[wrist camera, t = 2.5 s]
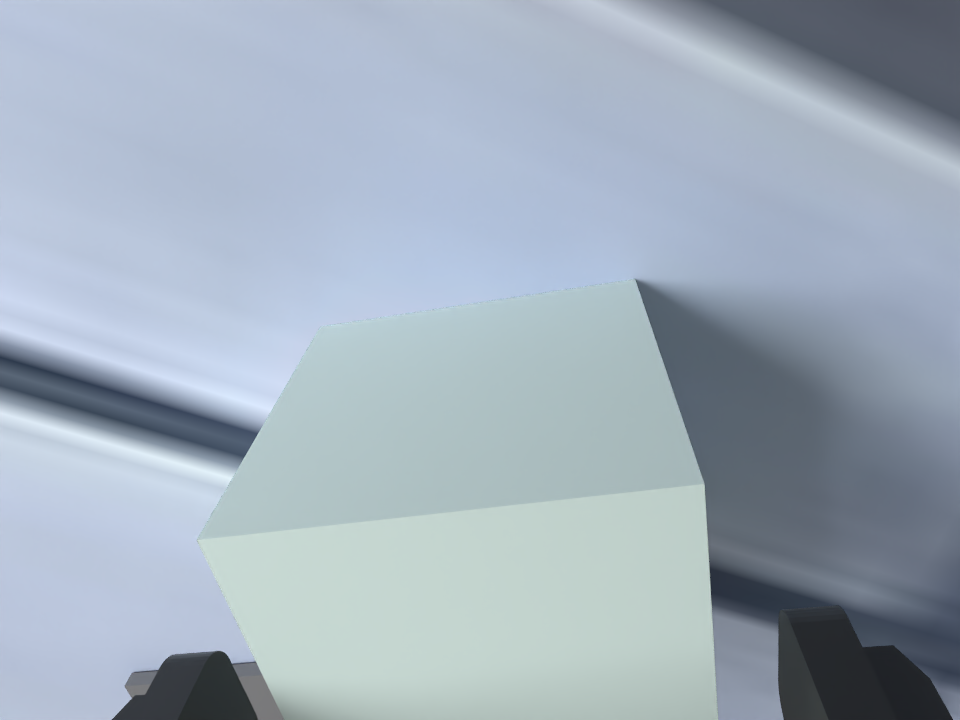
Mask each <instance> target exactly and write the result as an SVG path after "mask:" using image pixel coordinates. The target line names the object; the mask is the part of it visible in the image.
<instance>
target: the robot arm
mask: <svg viewBox="0 0 960 720" xmlns="http://www.w3.org/2000/svg"><path fill="white" fill-rule="evenodd" d="M778 683H779V695H780V702H781V708H782V713H783V717H784V720H953V719H952V717H951V715H950V713H949V712H948V710H947V708H946V706H945V704H944V703H943V701H942V699H941V697H940V696H939V694H938V692H937V690H936V688H935V687H934V685H933V683H932V681H931V680H930V678H929V677H927V676H926V675H925V674H924V673H923V672H922V671H921V670H920V669H919V668H918V667H916V666H915V665H914V664H913V663H912V662H911V661H910V660H909V659H908V658H907V657H905V656H904V655H903V654H902V653H901V652H900V651H899V650H898V649H897V648H896V647H894V646H893V645H891V646H876V647H862V645H861V643H860V641H859V639H858V637H857V635H856V633H855V631H854V629H853V627H852V625H851V623H850V621H849V619H848V617H847V615H846V613H845V612H844V610H843V609H842V608H841V607H840V606H837V605H836V606H823V607H810V608H797V609H784V610H780V612H779V655H778ZM112 720H258V718H257V715H256V713H255V711H254V708H253V706H252V704H251V702H250V700H249V698H248V696H247V694H246V692H245V690H244V688H243V686H242V684H241V682H240V680H239V678H238V676H237V674H236V672H235V669H234V667H233V665H232V663H231V661H230V659H229V658H228V656H227V655H226V654H225V653H224V652H222V651H213V652H200V653H187V654H175V655H172V656H170V657H168V658H167V659H166V660H165V661H164V662H163V664H162V665H161V667H160V668H159V670H158V672H157V674H156V676H155V677H154V679H153V681H152V683H151V685H150V687H149V688H148V690H147V692H146V694H145V695H135V696H134V697H133V698H132V699H131V700H130V701H129V702H128V703H127V704H126V705H125V707H124V708H123V709H122V710H121V711H120V712H119V713H118V714H117V715H116V716H115V717H114V718H113V719H112Z"/></svg>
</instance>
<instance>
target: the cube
mask: <svg viewBox="0 0 960 720" xmlns="http://www.w3.org/2000/svg"><path fill="white" fill-rule="evenodd" d="M197 542H198V544H199V546H200V548H201V550H202V552H203V554H204V556H205V558H206V560H207V562H208V564H209V566H210V569H211V571H212V573H213V575H214V577H215V579H216V581H217V583H218V585H219V587H220V589H221V591H222V593H223V595H224V597H225V599H226V601H227V603H228V605H229V608H230V610H231V612H232V614H233V616H234V618H235V620H236V622H237V624H238V626H239V628H240V630H241V632H242V634H243V636H244V638H245V640H246V642H247V644H248V647H249V649H250V651H251V653H252V655H253V657H254V659H255V661H256V663H257V665H258V667H259V669H260V671H261V673H262V675H263V677H264V679H265V681H266V683H267V686H268V688H269V690H270V692H271V694H272V696H273V698H274V700H275V702H276V704H277V706H278V708H279V710H280V712H281V714H282V716H283V718H284V720H718V710H717V692H716V675H715V657H714V640H713V623H712V605H711V588H710V570H709V553H708V536H707V518H706V501H705V484H704V481H703V478H702V475H701V472H700V469H699V466H698V463H697V460H696V457H695V454H694V451H693V448H692V445H691V443H690V440H689V437H688V434H687V431H686V428H685V425H684V422H683V419H682V416H681V413H680V410H679V407H678V404H677V401H676V398H675V395H674V392H673V389H672V386H671V384H670V381H669V378H668V375H667V372H666V369H665V366H664V363H663V360H662V357H661V354H660V351H659V348H658V345H657V342H656V339H655V336H654V333H653V330H652V327H651V325H650V322H649V319H648V316H647V313H646V310H645V307H644V304H643V301H642V298H641V295H640V292H639V289H638V286H637V283H636V280H635V279H631V280H625V281H618V282H611V283H605V284H598V285H591V286H585V287H578V288H572V289H565V290H558V291H552V292H545V293H539V294H532V295H525V296H519V297H512V298H506V299H499V300H492V301H486V302H479V303H473V304H466V305H459V306H453V307H446V308H439V309H433V310H426V311H420V312H413V313H406V314H400V315H393V316H387V317H380V318H373V319H367V320H360V321H354V322H347V323H340V324H334V325H327V326H321V327H320V328H319V330H318V331H317V333H316V335H315V336H314V338H313V340H312V342H311V343H310V345H309V347H308V349H307V350H306V352H305V354H304V355H303V357H302V359H301V361H300V362H299V364H298V366H297V368H296V369H295V371H294V373H293V374H292V376H291V378H290V380H289V381H288V383H287V385H286V387H285V388H284V390H283V392H282V393H281V395H280V397H279V399H278V400H277V402H276V404H275V406H274V407H273V409H272V411H271V412H270V414H269V416H268V418H267V419H266V421H265V423H264V425H263V426H262V428H261V430H260V432H259V433H258V435H257V437H256V438H255V440H254V442H253V444H252V445H251V447H250V449H249V451H248V452H247V454H246V456H245V457H244V459H243V461H242V463H241V464H240V466H239V468H238V470H237V471H236V473H235V475H234V476H233V478H232V480H231V482H230V483H229V485H228V487H227V489H226V490H225V492H224V494H223V495H222V497H221V499H220V501H219V502H218V504H217V506H216V508H215V509H214V511H213V513H212V515H211V516H210V518H209V520H208V521H207V523H206V525H205V527H204V528H203V530H202V532H201V534H200V535H199V537H198V539H197Z"/></svg>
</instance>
